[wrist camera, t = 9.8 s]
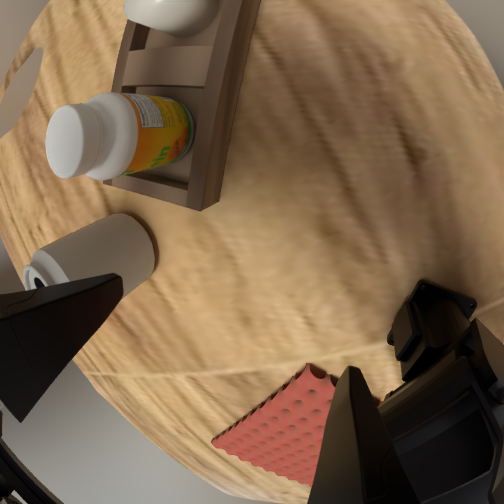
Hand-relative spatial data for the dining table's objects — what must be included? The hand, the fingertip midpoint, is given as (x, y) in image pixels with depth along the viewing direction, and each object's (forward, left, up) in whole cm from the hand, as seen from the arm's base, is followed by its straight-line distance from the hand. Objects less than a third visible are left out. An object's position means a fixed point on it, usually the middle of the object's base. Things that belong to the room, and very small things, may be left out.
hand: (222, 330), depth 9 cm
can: (+15, +7, -13) cm, 21 cm away
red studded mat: (-15, +30, -13) cm, 36 cm away
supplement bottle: (+11, -5, -12) cm, 17 cm away
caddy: (+11, -10, -12) cm, 19 cm away
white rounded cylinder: (+11, -15, -11) cm, 22 cm away
